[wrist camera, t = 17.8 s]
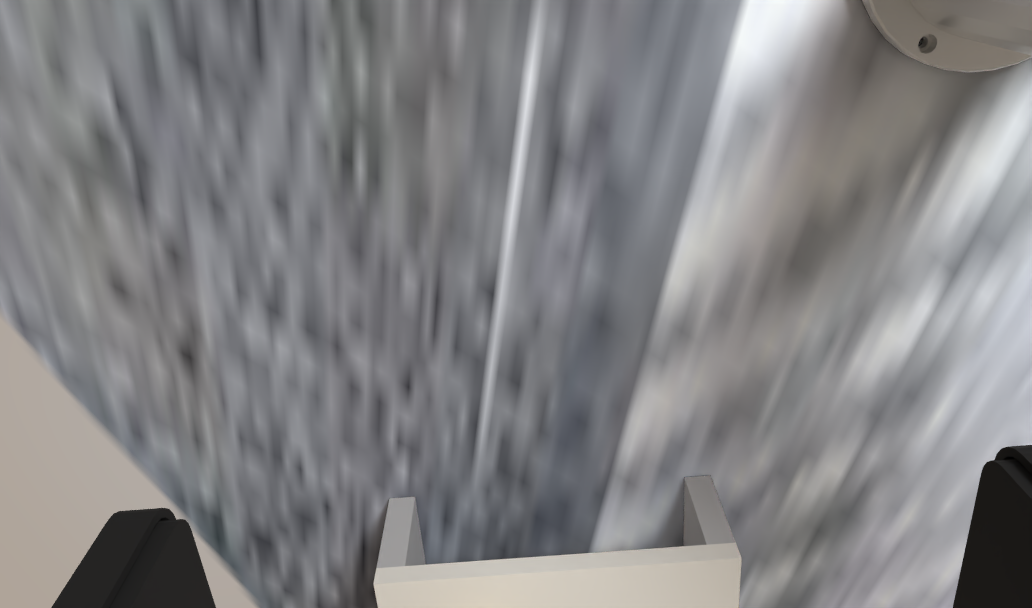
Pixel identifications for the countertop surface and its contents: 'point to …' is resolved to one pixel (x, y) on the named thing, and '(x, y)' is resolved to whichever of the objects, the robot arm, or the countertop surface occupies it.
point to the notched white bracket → (569, 568)
